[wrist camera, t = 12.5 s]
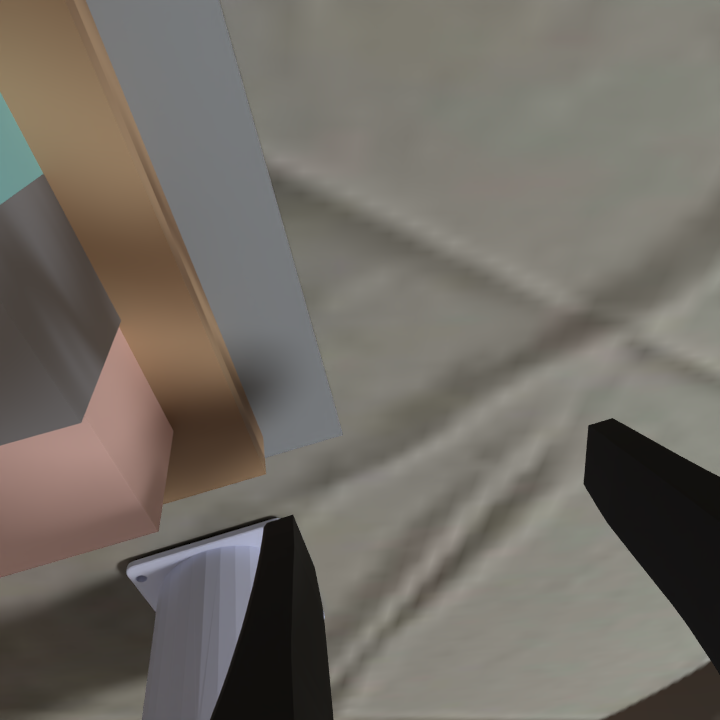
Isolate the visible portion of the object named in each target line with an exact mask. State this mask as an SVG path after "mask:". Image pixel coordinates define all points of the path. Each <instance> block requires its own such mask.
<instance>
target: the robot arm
mask: <svg viewBox="0 0 720 720" xmlns="http://www.w3.org/2000/svg"><path fill="white" fill-rule="evenodd" d="M584 485H585V487H586V489H587V491H588V492H589V494H590V496H591V497H592V499H593V501H594V502H595V504H596V506H597V507H598V509H599V510H600V512H601V514H602V515H603V517H604V518H605V520H606V521H607V523H608V524H609V525H610V527H611V528H612V529H613V531H614V532H615V533H616V534H617V536H618V537H619V538H620V540H621V541H622V542H623V543H624V545H625V546H626V547H627V548H628V550H629V551H630V552H631V554H632V555H633V556H634V557H635V559H636V560H637V561H638V562H639V564H640V565H641V566H642V567H643V569H644V570H645V571H646V572H647V574H648V575H649V576H650V577H651V579H652V580H653V581H654V582H655V584H656V585H657V586H658V587H659V589H660V590H661V591H662V592H663V594H664V595H665V596H666V597H667V599H668V600H669V601H670V602H671V604H672V605H673V606H674V608H675V609H676V610H677V612H678V613H679V614H680V616H681V617H682V618H683V620H684V621H685V622H686V624H687V625H688V627H689V628H690V630H691V631H692V633H693V634H694V636H695V637H696V639H697V640H698V642H699V643H700V645H701V646H702V648H703V649H704V651H705V652H706V654H707V655H708V657H709V658H710V660H711V661H712V663H713V664H714V666H715V668H716V669H717V670H718V672H719V674H720V477H719V476H717V475H715V474H713V473H711V472H709V471H707V470H705V469H704V468H702V467H700V466H698V465H696V464H694V463H692V462H690V461H689V460H687V459H685V458H683V457H681V456H679V455H678V454H676V453H674V452H672V451H670V450H669V449H667V448H665V447H663V446H661V445H660V444H658V443H656V442H654V441H652V440H651V439H649V438H647V437H645V436H644V435H642V434H640V433H638V432H636V431H635V430H633V429H631V428H629V427H628V426H626V425H624V424H622V423H620V422H618V421H617V420H615V419H613V418H612V419H608V420H605V421H602V422H598V423H595V424H592V425H589V426H588V438H587V450H586V462H585V474H584ZM126 574H127V576H128V577H129V578H130V580H131V581H132V582H133V584H134V585H135V586H136V587H137V589H138V590H139V591H140V593H141V594H142V595H143V597H144V598H145V599H146V600H147V602H148V603H149V604H150V606H151V607H152V608H153V609H154V611H155V612H156V616H155V624H154V631H153V639H152V647H151V654H150V662H149V669H148V677H147V684H146V692H145V699H144V707H143V715H142V720H333V709H332V698H331V688H330V677H329V666H328V655H327V644H326V634H325V623H324V619H325V616H324V611H323V607H322V602H321V597H320V592H319V587H318V582H317V577H316V572H315V567H314V565H313V562H312V560H311V557H310V555H309V553H308V550H307V548H306V545H305V543H304V540H303V538H302V535H301V533H300V531H299V528H298V526H297V523H296V521H295V518H294V516H293V515H291V516H287V517H284V518H281V519H280V518H274V519H271V520H267V521H264V522H261V523H257V524H254V525H251V526H247V527H244V528H241V529H237V530H234V531H231V532H227V533H224V534H221V535H218V536H214V537H211V538H208V539H204V540H201V541H198V542H194V543H191V544H188V545H184V546H181V547H178V548H174V549H171V550H168V551H165V552H161V553H158V554H155V555H151V556H148V557H145V558H141V559H138V560H135V561H132V562H130V563H129V564H128V566H127V570H126Z"/></svg>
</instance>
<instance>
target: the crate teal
mask: <svg viewBox="0 0 720 720" xmlns="http://www.w3.org/2000/svg"><path fill="white" fill-rule="evenodd" d="M42 174H43V172H42V170H41V168H40V166H39V164H38V162H37V161H36V159H35V157H34V155H33V153H32V151H31V149H30V147H29V145H28V144H27V142H26V140H25V138H24V136H23V134H22V132H21V130H20V128H19V126H18V125H17V123H16V121H15V119H14V117H13V115H12V113H11V111H10V109H9V108H8V106H7V104H6V102H5V100H4V98H3V96H2V94H1V92H0V205H1V204H2V203H3V202H5V201H6V200H8V199H9V198H10V197H12V196H13V195H15V194H16V193H17V192H19V191H20V190H21V189H23V188H24V187H26V186H27V185H28V184H30V183H31V182H33V181H34V180H35V179H37V178H38V177H40V176H41V175H42Z"/></svg>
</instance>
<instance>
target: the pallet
mask: <svg viewBox="0 0 720 720" xmlns="http://www.w3.org/2000/svg"><path fill="white" fill-rule="evenodd" d="M0 92H1V94H2V96H3V98H4V100H5V102H6V104H7V106H8V108H9V109H10V111H11V113H12V115H13V117H14V119H15V121H16V123H17V125H18V126H19V128H20V130H21V132H22V134H23V136H24V138H25V140H26V142H27V144H28V145H29V147H30V149H31V151H32V153H33V155H34V157H35V159H36V161H37V162H38V164H39V166H40V168H41V170H42V172H43V174H42V175H41V176H40V177H38V178H37V179H35V180H34V181H33V182H31V183H30V184H28V185H27V186H26V187H24V188H23V189H21V190H20V191H19V192H17V193H16V194H15V195H13V196H12V197H10V198H9V199H8V200H6V201H5V202H3V203H2V204H1V205H0V446H1V445H4V444H8V443H11V442H15V441H19V440H22V439H26V438H29V437H33V436H36V435H40V434H43V433H47V432H51V431H54V430H58V429H61V428H65V427H68V426H72V425H76V424H79V423H81V422H82V420H83V417H84V415H85V412H86V410H87V407H88V405H89V402H90V399H91V397H92V394H93V392H94V389H95V387H96V384H97V382H98V379H99V377H100V374H101V371H102V369H103V366H104V364H105V361H106V359H107V356H108V354H109V351H110V348H111V346H112V343H113V341H114V338H115V336H116V333H117V331H118V328H120V330H121V332H122V334H123V335H124V337H125V339H126V341H127V343H128V345H129V347H130V349H131V351H132V353H133V355H134V357H135V358H136V360H137V362H138V364H139V366H140V368H141V370H142V372H143V374H144V376H145V378H146V380H147V381H148V383H149V385H150V387H151V389H152V391H153V393H154V395H155V397H156V399H157V401H158V403H159V404H160V406H161V408H162V410H163V412H164V414H165V416H166V418H167V420H168V422H169V424H170V425H171V427H172V429H173V438H172V445H171V452H170V458H169V465H168V472H167V478H166V485H165V492H164V499H163V504H166V503H169V502H173V501H176V500H180V499H183V498H186V497H190V496H193V495H196V494H200V493H203V492H207V491H210V490H213V489H217V488H220V487H224V486H227V485H230V484H234V483H237V482H241V481H244V480H247V479H251V478H254V477H258V476H261V475H264V474H266V467H265V454H264V441H263V436H262V433H261V431H260V428H259V426H258V423H257V421H256V418H255V416H254V414H253V411H252V409H251V406H250V404H249V401H248V399H247V396H246V394H245V391H244V389H243V386H242V384H241V382H240V379H239V377H238V374H237V372H236V369H235V367H234V364H233V362H232V359H231V357H230V354H229V352H228V350H227V347H226V345H225V342H224V340H223V337H222V335H221V332H220V330H219V327H218V325H217V322H216V320H215V317H214V315H213V313H212V310H211V308H210V305H209V303H208V300H207V298H206V295H205V293H204V290H203V288H202V285H201V283H200V281H199V278H198V276H197V273H196V271H195V268H194V266H193V263H192V261H191V258H190V256H189V253H188V251H187V249H186V246H185V244H184V241H183V239H182V236H181V234H180V231H179V229H178V226H177V224H176V221H175V219H174V217H173V214H172V212H171V209H170V207H169V204H168V202H167V199H166V197H165V194H164V192H163V189H162V187H161V185H160V182H159V180H158V177H157V175H156V172H155V170H154V167H153V165H152V162H151V160H150V157H149V155H148V152H147V150H146V148H145V145H144V143H143V140H142V138H141V135H140V133H139V130H138V128H137V125H136V123H135V120H134V118H133V116H132V113H131V111H130V108H129V106H128V103H127V101H126V98H125V96H124V93H123V91H122V88H121V86H120V84H119V81H118V79H117V76H116V74H115V71H114V69H113V66H112V64H111V61H110V59H109V56H108V54H107V52H106V49H105V47H104V44H103V42H102V39H101V37H100V34H99V32H98V29H97V27H96V24H95V22H94V19H93V17H92V15H91V12H90V10H89V7H88V5H87V2H86V0H0Z"/></svg>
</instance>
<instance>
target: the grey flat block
mask: <svg viewBox="0 0 720 720" xmlns="http://www.w3.org/2000/svg"><path fill="white" fill-rule="evenodd" d="M86 2H87V5H88V7H89V10H90V12H91V15H92V17H93V19H94V22H95V24H96V27H97V29H98V32H99V34H100V37H101V39H102V42H103V44H104V47H105V49H106V52H107V54H108V56H109V59H110V61H111V64H112V66H113V69H114V71H115V74H116V76H117V79H118V81H119V84H120V86H121V88H122V91H123V93H124V96H125V98H126V101H127V103H128V106H129V108H130V111H131V113H132V116H133V118H134V120H135V123H136V125H137V128H138V130H139V133H140V135H141V138H142V140H143V143H144V145H145V148H146V150H147V152H148V155H149V157H150V160H151V162H152V165H153V167H154V170H155V172H156V175H157V177H158V180H159V182H160V185H161V187H162V189H163V192H164V194H165V197H166V199H167V202H168V204H169V207H170V209H171V212H172V214H173V217H174V219H175V221H176V224H177V226H178V229H179V231H180V234H181V236H182V239H183V241H184V244H185V246H186V249H187V251H188V253H189V256H190V258H191V261H192V263H193V266H194V268H195V271H196V273H197V276H198V278H199V281H200V283H201V285H202V288H203V290H204V293H205V295H206V298H207V300H208V303H209V305H210V308H211V310H212V313H213V315H214V317H215V320H216V322H217V325H218V327H219V330H220V332H221V335H222V337H223V340H224V342H225V345H226V347H227V350H228V352H229V354H230V357H231V359H232V362H233V364H234V367H235V369H236V372H237V374H238V377H239V379H240V382H241V384H242V386H243V389H244V391H245V394H246V396H247V399H248V401H249V404H250V406H251V409H252V411H253V414H254V416H255V418H256V421H257V423H258V426H259V428H260V431H261V433H262V436H263V441H264V454H265V458H266V457H269V456H273V455H276V454H280V453H283V452H286V451H290V450H293V449H297V448H300V447H303V446H307V445H310V444H314V443H317V442H320V441H324V440H327V439H331V438H334V437H337V436H341V435H343V433H342V430H341V426H340V423H339V419H338V415H337V412H336V408H335V405H334V401H333V397H332V394H331V390H330V387H329V383H328V380H327V376H326V373H325V369H324V366H323V362H322V359H321V355H320V352H319V348H318V345H317V341H316V338H315V334H314V331H313V327H312V324H311V320H310V317H309V313H308V310H307V306H306V303H305V299H304V296H303V292H302V289H301V285H300V282H299V278H298V275H297V271H296V268H295V264H294V261H293V257H292V254H291V250H290V247H289V243H288V240H287V236H286V233H285V229H284V226H283V222H282V219H281V215H280V212H279V208H278V205H277V201H276V198H275V194H274V191H273V187H272V184H271V180H270V177H269V173H268V170H267V166H266V163H265V159H264V156H263V152H262V149H261V145H260V142H259V138H258V135H257V131H256V128H255V124H254V121H253V117H252V114H251V110H250V107H249V103H248V100H247V96H246V93H245V89H244V86H243V82H242V79H241V75H240V72H239V68H238V65H237V61H236V58H235V54H234V51H233V47H232V44H231V40H230V37H229V33H228V30H227V26H226V23H225V19H224V16H223V12H222V9H221V5H220V2H219V0H86Z"/></svg>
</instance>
